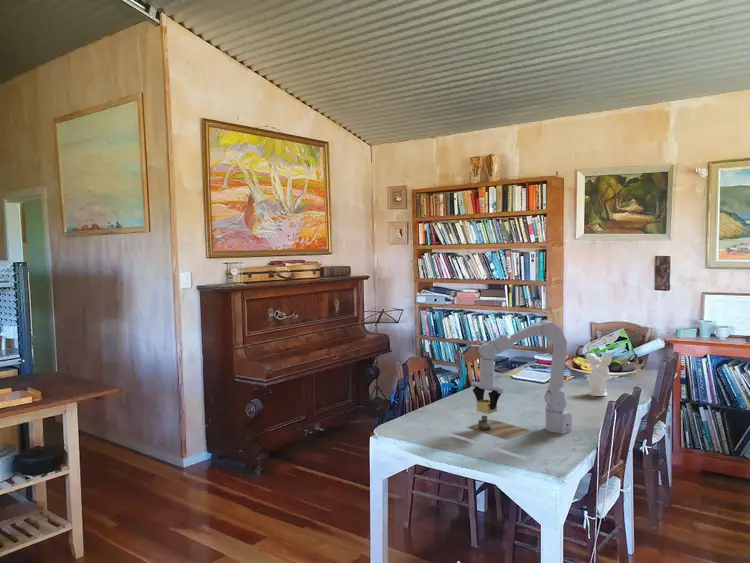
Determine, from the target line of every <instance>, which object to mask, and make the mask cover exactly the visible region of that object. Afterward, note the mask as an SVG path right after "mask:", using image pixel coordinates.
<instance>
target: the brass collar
mask: <svg viewBox="0 0 750 563" xmlns="http://www.w3.org/2000/svg"><path fill="white" fill-rule="evenodd" d="M497 411H498V403H497V404H496V408H495V409H494V410H491V407H490V398H484V399H483V400H479V401H477V400H476V412H478V413H483V414H487V415H490V414H493V413H497Z"/></svg>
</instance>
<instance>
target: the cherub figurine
mask: <svg viewBox="0 0 750 563" xmlns="http://www.w3.org/2000/svg"><path fill="white" fill-rule="evenodd" d="M585 360H586V362H587V364H588V365H589V366H590V368H592V369H591V372H590V373H589V375H588V376H587V378H586V381H587V382H589V387H590V389H589V391H588V392H587V394H588V395H589V396H592V397H595V396H605V397H607V396H608V393H607V390H606V388H607V381H608V380H610V369H609V366H610V365H611V364H612V354H611V352H610V351H609V352H606V353H604V354H602V355H601V356H600V357H598V356H597V354H595V353H594V352H590V353H589V352H588V353H587V354H586V356H585Z"/></svg>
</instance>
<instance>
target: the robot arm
mask: <svg viewBox="0 0 750 563" xmlns="http://www.w3.org/2000/svg"><path fill="white" fill-rule="evenodd" d="M530 337H540V338H541V337H545V338H546V339H547V340H548V341H549V342H550V343H551V344H552V356H551V366H550V376H549V384H548V386H547V391H546V393H545V394H544V396H543V398H544V401H545V403H546V406H545V430H546V431H547V432H551V433H557V434H561V435H566V434H567V433H570V432H572V430H573V428H572V426H573V425H572V424H573V421H572V419H573V418H572V414H571V413H570V412H568V411H566V407H567V400H566V399H565V397H566V394H565V390H564V382H565V380H564V379H565V369H566V359H567V346H568V341H567V339H566V337H565V335H564V333H563V331H562V328H560V326H559V325H557V324H556V323H554V322H552V321H550V320H548V319H543V320H540V321H537V322H534V323H532V324H530V325H528V326H526V327H525V328H522V329H521V330H518V331H517V332H515V333H512V334H511V335H508V334H500V335H498V337H497V338H495V339H492V340H491V339H489V340H488V341H487V342H483V343H482V344H480V346H479V348H478V349H477V350H478V354H479V355H480V356H479V381H471V382H470V387H471V388H473V389H472V392H473V394H474V396H475V399H476V402H477V401H479V400H483V399H485V391H490V392H488V397H489V400H490V407H491V410H494V409H495V408H496V404H497V405H498V401H499V398H500V397H501V395H502V394H503V393H504V387H501V386H499V385H496V384H495V360H494V359H495V357H496V355H499V354H501V353H504V352H505V351H507V350H510V349H512V348H513V346H514V344H515V343H518V342H520V341H523V340H526V339H528V338H530Z"/></svg>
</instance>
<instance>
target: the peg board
mask: <svg viewBox="0 0 750 563" xmlns="http://www.w3.org/2000/svg"><path fill="white" fill-rule="evenodd" d="M477 422H478V423H476V424H472V425H469V426H466V428H467V429H470V430H473V431H476V432H480V433H483V434H487V435H489V436H493V437H497V438H500V439H503V440H505V441H508V440H510V439H513V438H515V437H518V436H522V435H525V434H527V433H530V432H532V431H533V430H532V429H528V428H525V427H524V428H523V427H521V426H517V425H514V424H510V423H508V422H507V423H506V422H503V421H499V420H495V419H492V418H491V419H488V416H487V415H481V419H479V420H478V421H477Z"/></svg>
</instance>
